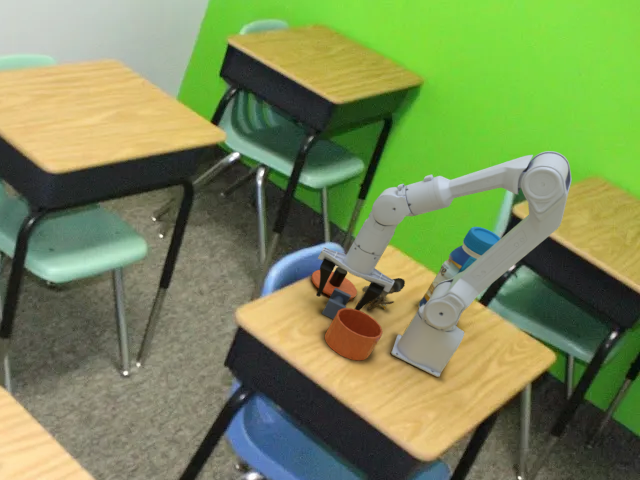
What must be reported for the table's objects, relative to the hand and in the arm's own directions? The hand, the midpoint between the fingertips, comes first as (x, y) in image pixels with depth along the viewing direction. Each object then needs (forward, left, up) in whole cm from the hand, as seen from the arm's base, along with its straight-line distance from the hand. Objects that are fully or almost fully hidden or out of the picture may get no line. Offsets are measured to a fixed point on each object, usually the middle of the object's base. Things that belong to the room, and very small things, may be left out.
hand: (336, 303), depth 183 cm
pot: (-5, +10, -2) cm, 11 cm away
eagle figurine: (-7, -11, -2) cm, 13 cm away
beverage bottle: (-19, -18, -2) cm, 27 cm away
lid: (+2, -9, -1) cm, 9 cm away
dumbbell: (0, 0, -2) cm, 2 cm away
